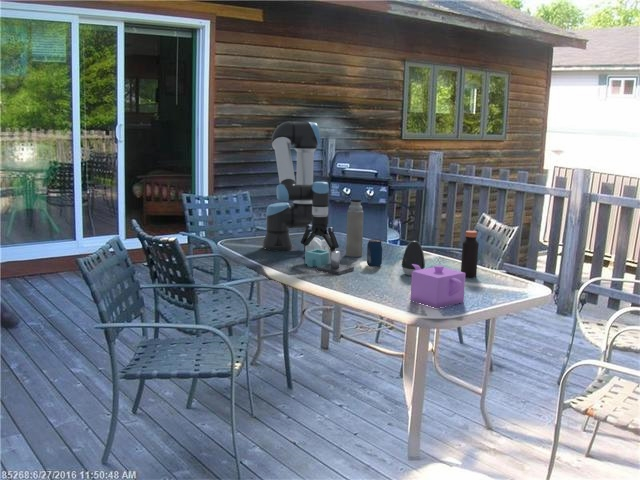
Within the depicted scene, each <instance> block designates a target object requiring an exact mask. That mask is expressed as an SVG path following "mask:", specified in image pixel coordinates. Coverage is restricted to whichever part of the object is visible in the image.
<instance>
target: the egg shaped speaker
mask: <svg viewBox="0 0 640 480" xmlns="http://www.w3.org/2000/svg"><path fill="white" fill-rule="evenodd" d="M412 264H416V265H418V266H420V268H421V269H426V268H425V267H426V259H425V254H424V250H423V247H422V245H421V243H420V242H419V241H418V240H411V241H410V242H409V243H408V244H407V245H406V247H405V250H404V253H403V256H402V260H401V267H402V271H403V273H404V274H405V275H407V276H411V277H412V271H415V270H416V269H415V268H414V266H413V265H412Z"/></svg>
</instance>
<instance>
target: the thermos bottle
mask: <svg viewBox="0 0 640 480" xmlns="http://www.w3.org/2000/svg"><path fill="white" fill-rule="evenodd" d="M361 201H362V199H357V198H353V199H351V200H350V205H349V206H348V210H347V213H346V215H347V217H346V219H347V220H346V239H345V240H346V241H345V242H346V243H345V244H346V245H345V246H346V247H345V256H347V257H352V258H357V257H358V258H359V257H362V256H363V242H364V241H363V237H364V235H363V234H364V233H363V232H364V210H363V206H362V205H361V204H362V203H361Z"/></svg>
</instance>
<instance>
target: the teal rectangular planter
mask: <svg viewBox="0 0 640 480" xmlns="http://www.w3.org/2000/svg"><path fill="white" fill-rule="evenodd" d="M304 253H305V255H304V262H305V263H304V264H305V265H306V264H307V267H308V266H310V268H313V266H314V267H316V266H317V267H320V266H323V265H327V264H330V263H328V262H329V250H321V249H314V250H310V251H306V252H304ZM317 267H316V268H317Z"/></svg>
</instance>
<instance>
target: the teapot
mask: <svg viewBox="0 0 640 480" xmlns="http://www.w3.org/2000/svg"><path fill="white" fill-rule="evenodd" d="M412 265H413V266H414V268H415V269H416V270H415V271H412V276H411V284H410V298H409V299H410V300H411V301H410V302H412V301H414V302H413V303H415V302H417V303H416V304H418V303H421V304H424V305H428V306H431V307H434V308H440V307H444V308H446V307H445V306H448V307H450V306H449V305H452V306H455V305H454V304H456V305H460V304H459V303H461V304H464V301H465V285H466V277H465V273H464V272H461V270H455V269H451V268H447V267H445V266H443V265H440V264H436V265H433V266H432V267H428V268H424V269H421V268H420V266H418V265H416V264H412ZM421 304H420V305H421ZM424 305H423V306H424ZM434 308H433V309H434ZM440 309H441V308H440Z"/></svg>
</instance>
